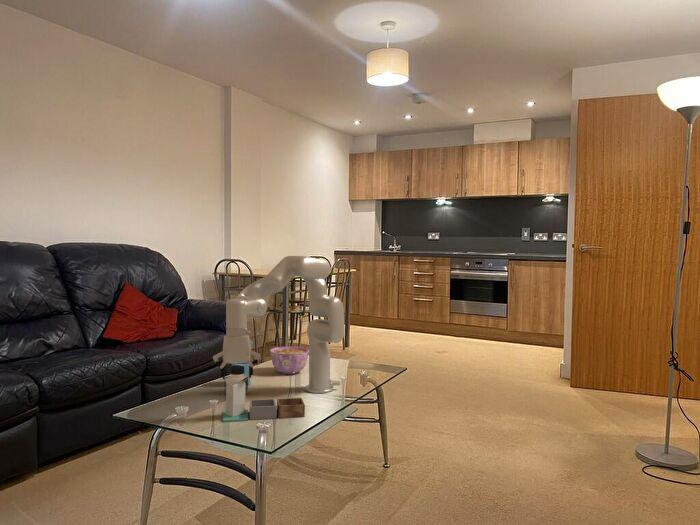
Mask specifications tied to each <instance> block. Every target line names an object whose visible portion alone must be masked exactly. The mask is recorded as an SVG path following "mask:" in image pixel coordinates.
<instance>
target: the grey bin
mask: <svg viewBox="0 0 700 525" xmlns="http://www.w3.org/2000/svg"><path fill="white" fill-rule="evenodd" d="M248 413H249V419H250V420H252V421H253V420H268V419H271V420H272V419H277V401H276V399H275V398H267V399H266V398H265V399H262V398H261V399H249V412H248Z"/></svg>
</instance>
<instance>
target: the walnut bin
mask: <svg viewBox="0 0 700 525" xmlns="http://www.w3.org/2000/svg"><path fill="white" fill-rule="evenodd" d="M276 406H277V412H276V414H277V416H278V419H286V418H288V419H289V418H305V417H306V416H305V415H306V413H305V412H306V405H305V402H304V399H303V397H292V398H291V397H290V398H288V397H287V398H286V397H285V398H276Z"/></svg>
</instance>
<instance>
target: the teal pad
mask: <svg viewBox="0 0 700 525" xmlns="http://www.w3.org/2000/svg"><path fill="white" fill-rule="evenodd" d="M248 413H249V412H248V409H246V408H245V413H244V414H241V415H238V416H234V417H231V416H228V415H226V409H225V410H223V413H222V422H223V423H233V422H248V421H249V414H248Z"/></svg>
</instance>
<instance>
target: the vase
mask: <svg viewBox="0 0 700 525" xmlns="http://www.w3.org/2000/svg"><path fill="white" fill-rule="evenodd" d="M252 346H253V341H251V340H250V348H251V349H252ZM250 360H251V361H252V358H251V359H250ZM233 365H242V366H244V375H246V376H248V387H251V386H252V383H251V382H252V381H251V378H249V366H250V365H249V364H248V363H247V362H246V363H231V366H233Z"/></svg>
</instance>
